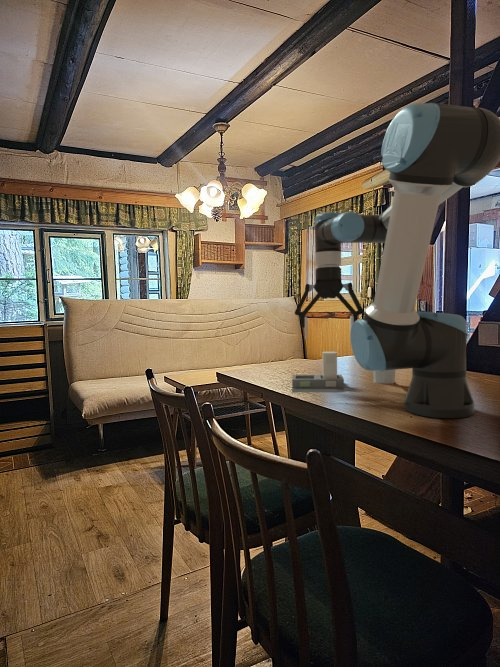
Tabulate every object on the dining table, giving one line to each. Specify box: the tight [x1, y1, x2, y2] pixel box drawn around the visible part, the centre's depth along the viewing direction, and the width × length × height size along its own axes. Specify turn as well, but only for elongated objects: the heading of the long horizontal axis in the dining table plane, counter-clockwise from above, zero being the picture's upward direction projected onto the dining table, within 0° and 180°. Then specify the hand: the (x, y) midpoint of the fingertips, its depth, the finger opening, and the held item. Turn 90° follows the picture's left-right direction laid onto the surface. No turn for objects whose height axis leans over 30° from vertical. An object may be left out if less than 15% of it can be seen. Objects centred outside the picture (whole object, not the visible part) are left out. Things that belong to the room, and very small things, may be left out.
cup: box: [372, 369, 397, 385], centre depth 134 cm, size 8×8×12 cm
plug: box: [322, 351, 338, 379], centre depth 131 cm, size 5×4×10 cm
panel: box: [291, 374, 346, 393], centre depth 132 cm, size 20×15×4 cm
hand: (328, 338), depth 131 cm, fingers open, 13 cm apart
